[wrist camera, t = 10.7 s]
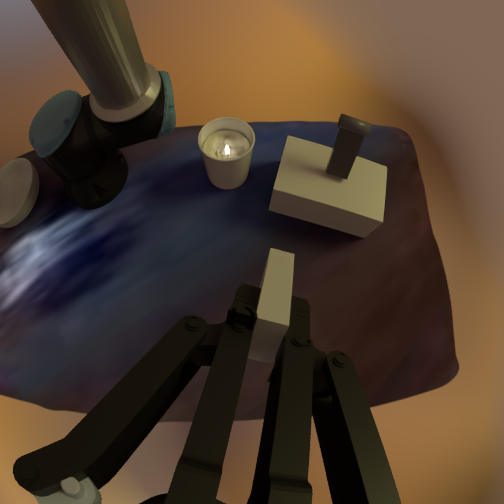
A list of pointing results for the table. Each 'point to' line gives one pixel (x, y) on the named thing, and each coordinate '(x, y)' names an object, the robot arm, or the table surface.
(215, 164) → the candle holder
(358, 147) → the lever
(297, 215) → the beige rectangular box
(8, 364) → the table surface
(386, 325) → the table surface
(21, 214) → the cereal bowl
